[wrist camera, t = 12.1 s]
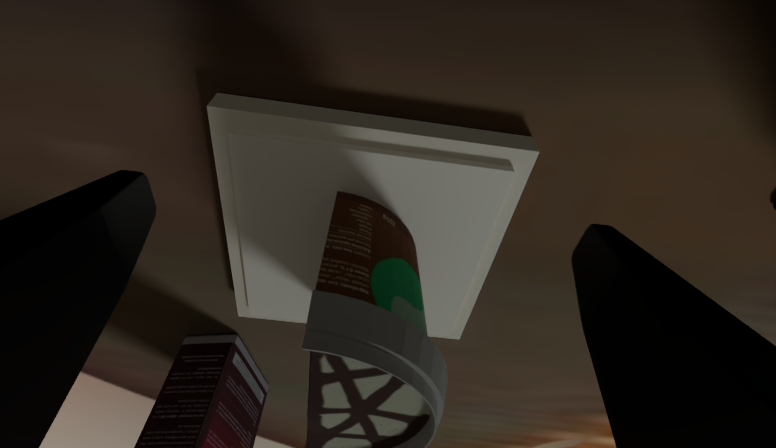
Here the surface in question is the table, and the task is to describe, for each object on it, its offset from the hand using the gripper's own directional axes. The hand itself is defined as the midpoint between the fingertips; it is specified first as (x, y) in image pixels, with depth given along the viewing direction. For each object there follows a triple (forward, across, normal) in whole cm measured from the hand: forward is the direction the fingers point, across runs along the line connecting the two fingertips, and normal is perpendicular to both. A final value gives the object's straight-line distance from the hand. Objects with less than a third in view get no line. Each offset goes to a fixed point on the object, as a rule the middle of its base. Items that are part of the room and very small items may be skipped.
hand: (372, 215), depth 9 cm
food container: (+11, -1, +12) cm, 17 cm away
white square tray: (+13, 0, +12) cm, 18 cm away
